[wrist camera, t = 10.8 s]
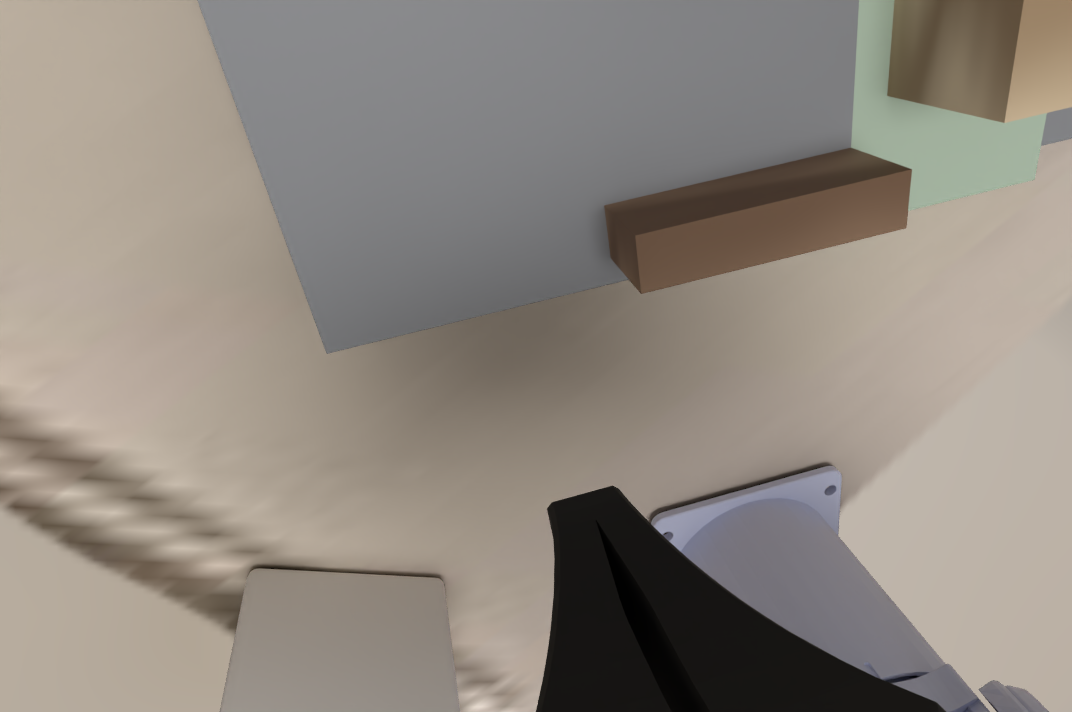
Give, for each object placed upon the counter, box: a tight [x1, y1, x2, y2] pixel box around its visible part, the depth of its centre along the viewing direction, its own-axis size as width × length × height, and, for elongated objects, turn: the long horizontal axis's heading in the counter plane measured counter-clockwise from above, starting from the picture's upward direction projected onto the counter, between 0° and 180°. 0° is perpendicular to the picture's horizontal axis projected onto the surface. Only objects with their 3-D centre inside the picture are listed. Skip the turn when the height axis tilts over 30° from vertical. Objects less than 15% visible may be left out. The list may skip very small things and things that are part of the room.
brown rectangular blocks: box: [604, 148, 912, 294], centre depth 16 cm, size 10×7×2 cm
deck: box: [198, 0, 1072, 354], centre depth 19 cm, size 11×28×3 cm, turn 100°
